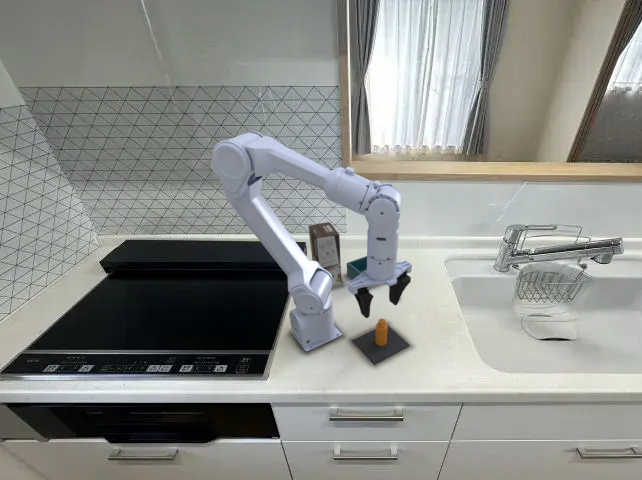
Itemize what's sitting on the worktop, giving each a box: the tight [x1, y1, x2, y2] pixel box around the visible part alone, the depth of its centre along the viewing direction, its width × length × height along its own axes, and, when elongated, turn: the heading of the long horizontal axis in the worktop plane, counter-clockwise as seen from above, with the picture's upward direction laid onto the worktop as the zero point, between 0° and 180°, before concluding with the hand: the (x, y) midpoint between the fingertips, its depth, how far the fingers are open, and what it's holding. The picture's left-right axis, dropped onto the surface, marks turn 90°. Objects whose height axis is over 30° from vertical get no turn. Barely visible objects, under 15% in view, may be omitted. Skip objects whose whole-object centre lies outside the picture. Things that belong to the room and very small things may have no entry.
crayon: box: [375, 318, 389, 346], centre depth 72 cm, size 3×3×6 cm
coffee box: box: [307, 221, 343, 287], centre depth 90 cm, size 9×6×16 cm
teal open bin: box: [346, 255, 371, 289], centre depth 95 cm, size 12×9×5 cm
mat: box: [351, 324, 411, 366], centre depth 74 cm, size 10×9×1 cm
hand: (379, 308), depth 69 cm, fingers open, 7 cm apart
